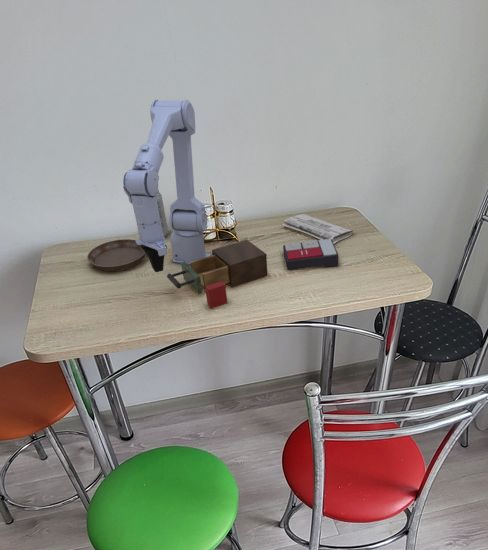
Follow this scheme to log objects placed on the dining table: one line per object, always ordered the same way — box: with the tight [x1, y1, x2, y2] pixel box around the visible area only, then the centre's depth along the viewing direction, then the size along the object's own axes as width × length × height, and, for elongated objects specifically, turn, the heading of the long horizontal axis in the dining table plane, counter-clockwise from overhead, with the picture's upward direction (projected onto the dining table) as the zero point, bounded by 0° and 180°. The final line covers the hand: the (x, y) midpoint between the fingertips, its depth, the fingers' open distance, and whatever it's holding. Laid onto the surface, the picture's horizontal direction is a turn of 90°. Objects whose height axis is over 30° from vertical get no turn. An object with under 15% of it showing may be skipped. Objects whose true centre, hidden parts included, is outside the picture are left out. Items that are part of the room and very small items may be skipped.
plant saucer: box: [86, 238, 146, 272], centre depth 149 cm, size 18×18×3 cm
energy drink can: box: [156, 189, 169, 238], centre depth 159 cm, size 6×6×15 cm
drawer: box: [166, 254, 231, 295], centre depth 133 cm, size 16×10×5 cm, turn 121°
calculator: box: [282, 239, 339, 271], centre depth 144 cm, size 11×4×15 cm
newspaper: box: [281, 213, 354, 245], centre depth 161 cm, size 23×12×2 cm, turn 43°
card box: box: [204, 281, 228, 309], centre depth 126 cm, size 5×2×6 cm, turn 121°
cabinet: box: [211, 239, 268, 288], centre depth 138 cm, size 11×11×7 cm
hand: (158, 270), depth 126 cm, fingers closed
